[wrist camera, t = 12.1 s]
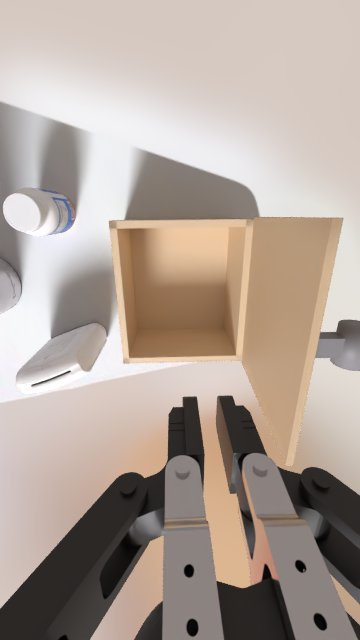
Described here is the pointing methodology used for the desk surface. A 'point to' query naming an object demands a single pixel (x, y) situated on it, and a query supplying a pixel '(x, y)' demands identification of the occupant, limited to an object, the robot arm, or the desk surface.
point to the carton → (181, 288)
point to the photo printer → (62, 359)
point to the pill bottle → (38, 212)
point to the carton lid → (292, 319)
